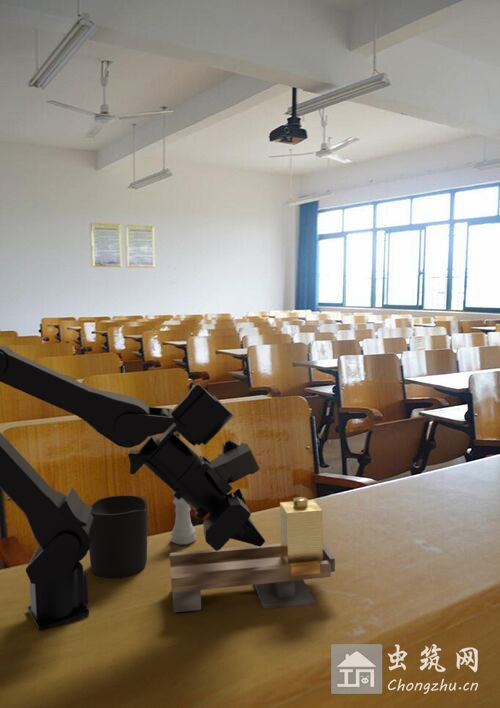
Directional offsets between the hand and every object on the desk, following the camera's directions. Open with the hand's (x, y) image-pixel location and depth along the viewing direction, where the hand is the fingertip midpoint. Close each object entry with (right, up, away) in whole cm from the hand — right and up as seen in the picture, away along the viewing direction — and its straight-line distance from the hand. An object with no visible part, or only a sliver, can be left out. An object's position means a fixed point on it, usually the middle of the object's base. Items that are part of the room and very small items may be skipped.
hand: (262, 543), depth 80 cm
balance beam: (-2, -7, 0) cm, 7 cm away
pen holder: (-23, -7, +10) cm, 26 cm away
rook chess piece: (-13, -6, +20) cm, 25 cm away
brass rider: (+6, -3, +1) cm, 6 cm away
